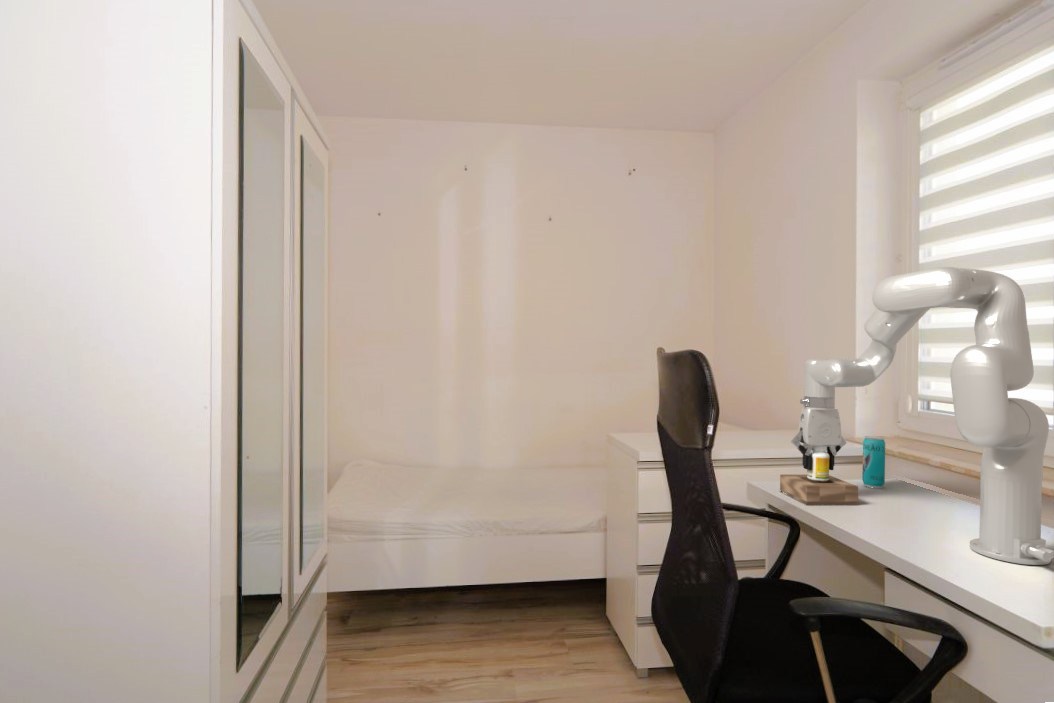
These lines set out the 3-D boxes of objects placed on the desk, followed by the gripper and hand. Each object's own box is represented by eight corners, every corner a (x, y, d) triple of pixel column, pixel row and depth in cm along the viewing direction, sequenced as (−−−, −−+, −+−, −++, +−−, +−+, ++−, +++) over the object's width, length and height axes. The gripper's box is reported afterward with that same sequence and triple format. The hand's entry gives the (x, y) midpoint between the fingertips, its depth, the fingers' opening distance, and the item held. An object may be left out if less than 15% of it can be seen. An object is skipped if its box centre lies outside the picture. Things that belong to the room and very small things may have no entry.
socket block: (857, 505, 151) (858, 486, 151) (806, 505, 151) (806, 486, 150) (827, 491, 165) (827, 474, 165) (780, 491, 164) (780, 474, 164)
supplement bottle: (803, 478, 158) (804, 444, 158) (812, 476, 162) (813, 442, 162) (823, 482, 154) (824, 446, 154) (832, 479, 157) (832, 445, 157)
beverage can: (858, 484, 175) (859, 435, 175) (877, 484, 175) (878, 435, 175) (868, 489, 170) (869, 438, 169) (888, 489, 169) (889, 438, 169)
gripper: (796, 404, 153) (795, 472, 153) (857, 405, 154) (856, 472, 154) (782, 402, 161) (781, 466, 161) (841, 402, 162) (840, 466, 162)
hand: (818, 468), depth 158 cm, fingers closed on supplement bottle, 5 cm apart
